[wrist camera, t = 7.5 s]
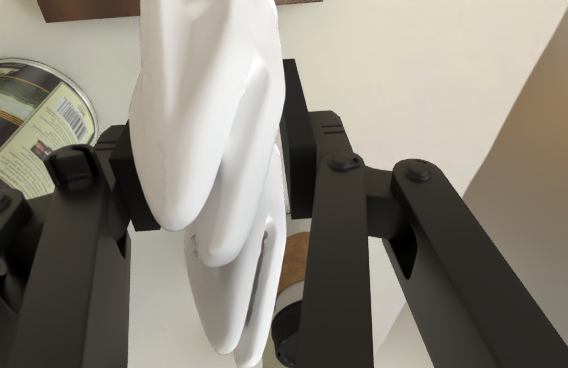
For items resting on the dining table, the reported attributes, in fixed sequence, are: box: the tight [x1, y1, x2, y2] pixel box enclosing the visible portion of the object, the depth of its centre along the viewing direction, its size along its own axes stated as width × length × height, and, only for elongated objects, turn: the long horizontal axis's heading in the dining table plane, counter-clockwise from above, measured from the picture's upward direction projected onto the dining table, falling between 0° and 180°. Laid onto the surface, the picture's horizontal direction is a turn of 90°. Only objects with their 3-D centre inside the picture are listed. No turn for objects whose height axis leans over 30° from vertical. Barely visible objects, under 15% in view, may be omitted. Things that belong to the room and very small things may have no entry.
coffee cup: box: [271, 214, 312, 368], centre depth 39 cm, size 8×8×15 cm
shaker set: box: [129, 0, 286, 368], centre depth 13 cm, size 12×4×11 cm, turn 2°
